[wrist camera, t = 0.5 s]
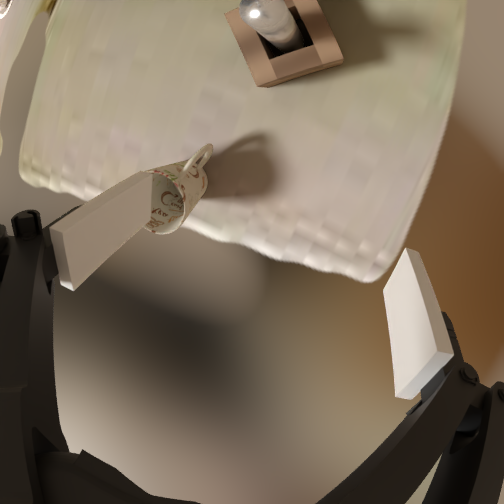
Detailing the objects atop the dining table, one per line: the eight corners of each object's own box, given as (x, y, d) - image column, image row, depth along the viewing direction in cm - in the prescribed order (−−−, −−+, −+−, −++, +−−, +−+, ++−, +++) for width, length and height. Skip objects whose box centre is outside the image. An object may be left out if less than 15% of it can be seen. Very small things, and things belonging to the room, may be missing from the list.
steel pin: (271, 34, 31) (232, 0, 17) (297, 25, 29) (274, -17, 16) (281, 57, 32) (249, 34, 19) (308, 48, 31) (292, 18, 17)
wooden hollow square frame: (239, 24, 31) (223, 13, 26) (311, -2, 27) (307, -17, 22) (267, 87, 34) (256, 86, 29) (341, 64, 31) (343, 58, 26)
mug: (156, 182, 45) (119, 206, 37) (198, 118, 39) (162, 128, 30) (196, 216, 46) (165, 246, 38) (244, 155, 40) (218, 174, 31)
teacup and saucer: (1, -5, 29) (-11, -5, 26) (17, -18, 28) (4, -18, 24) (-3, 23, 34) (-16, 24, 30) (12, 11, 32) (-1, 11, 29)
